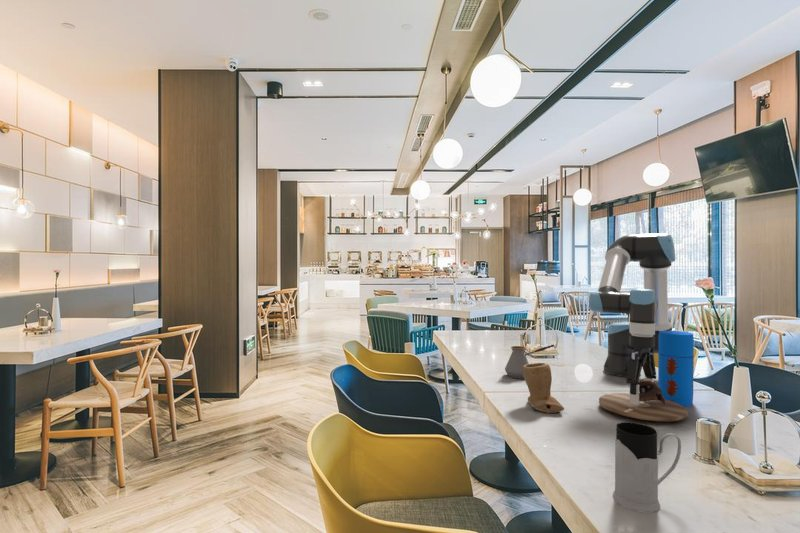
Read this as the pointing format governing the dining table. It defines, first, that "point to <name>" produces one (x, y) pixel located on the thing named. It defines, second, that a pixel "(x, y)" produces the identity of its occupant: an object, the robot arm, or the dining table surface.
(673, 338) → the thermos
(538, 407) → the brown boot vase
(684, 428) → the dining table surface
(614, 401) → the disc
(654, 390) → the pottery mug
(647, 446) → the glass holder
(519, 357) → the coffee pot
